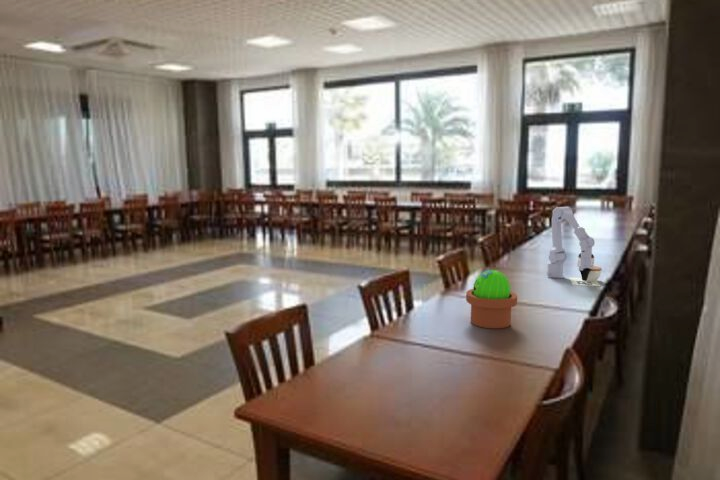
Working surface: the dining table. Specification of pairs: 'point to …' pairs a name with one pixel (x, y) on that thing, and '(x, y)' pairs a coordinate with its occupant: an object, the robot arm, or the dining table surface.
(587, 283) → the placemat
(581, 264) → the robot arm
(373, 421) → the dining table surface
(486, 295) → the potted cactus
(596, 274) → the lidded jar
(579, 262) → the spread jar
